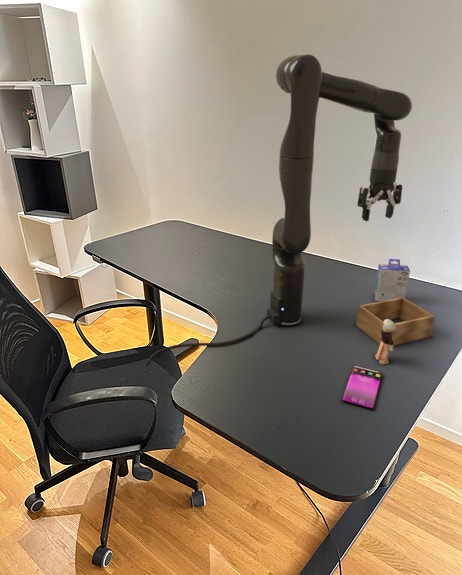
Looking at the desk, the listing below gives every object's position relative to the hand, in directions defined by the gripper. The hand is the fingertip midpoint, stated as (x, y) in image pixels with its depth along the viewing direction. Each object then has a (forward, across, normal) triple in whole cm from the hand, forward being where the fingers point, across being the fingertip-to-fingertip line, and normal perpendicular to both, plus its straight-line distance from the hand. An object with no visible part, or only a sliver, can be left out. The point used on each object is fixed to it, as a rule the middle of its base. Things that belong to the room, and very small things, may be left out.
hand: (376, 219), depth 138 cm
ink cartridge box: (+30, -10, 0) cm, 32 cm away
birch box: (+30, +3, +18) cm, 35 cm away
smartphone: (+30, +28, +38) cm, 56 cm away
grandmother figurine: (+30, +16, +30) cm, 46 cm away
